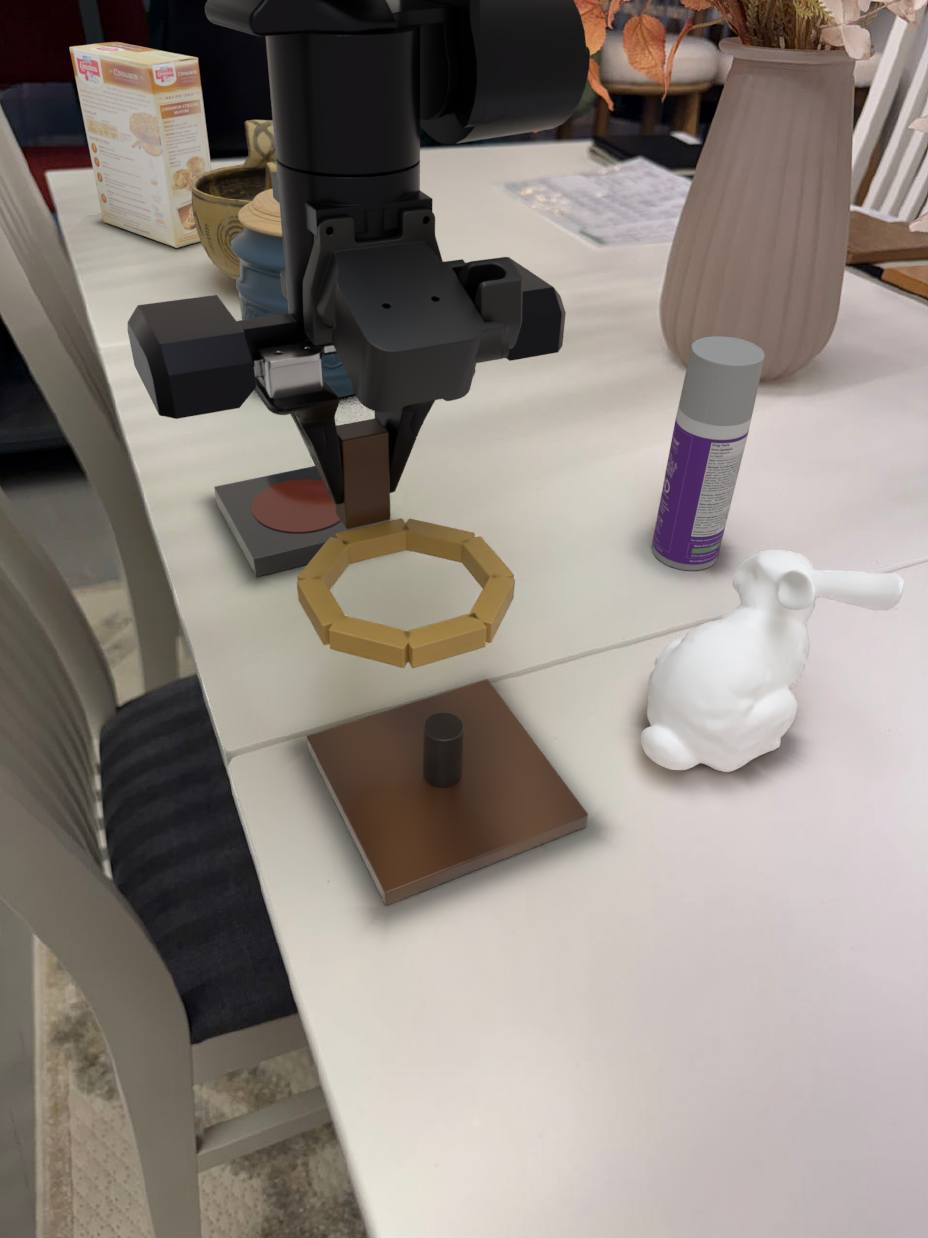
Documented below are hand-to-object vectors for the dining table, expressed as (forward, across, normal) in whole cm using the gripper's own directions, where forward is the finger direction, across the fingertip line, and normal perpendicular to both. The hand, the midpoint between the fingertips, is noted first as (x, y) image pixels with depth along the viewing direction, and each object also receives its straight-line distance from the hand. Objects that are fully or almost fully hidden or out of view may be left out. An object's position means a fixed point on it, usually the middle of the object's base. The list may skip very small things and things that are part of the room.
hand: (361, 494), depth 48 cm
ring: (+2, 0, -6) cm, 6 cm away
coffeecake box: (+13, +7, +89) cm, 90 cm away
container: (+13, +26, +4) cm, 29 cm away
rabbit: (+13, +18, -11) cm, 25 cm away
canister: (+13, +11, +42) cm, 45 cm away
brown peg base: (+13, +1, -9) cm, 16 cm away
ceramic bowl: (+13, +15, +65) cm, 68 cm away
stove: (+13, +2, +18) cm, 22 cm away
